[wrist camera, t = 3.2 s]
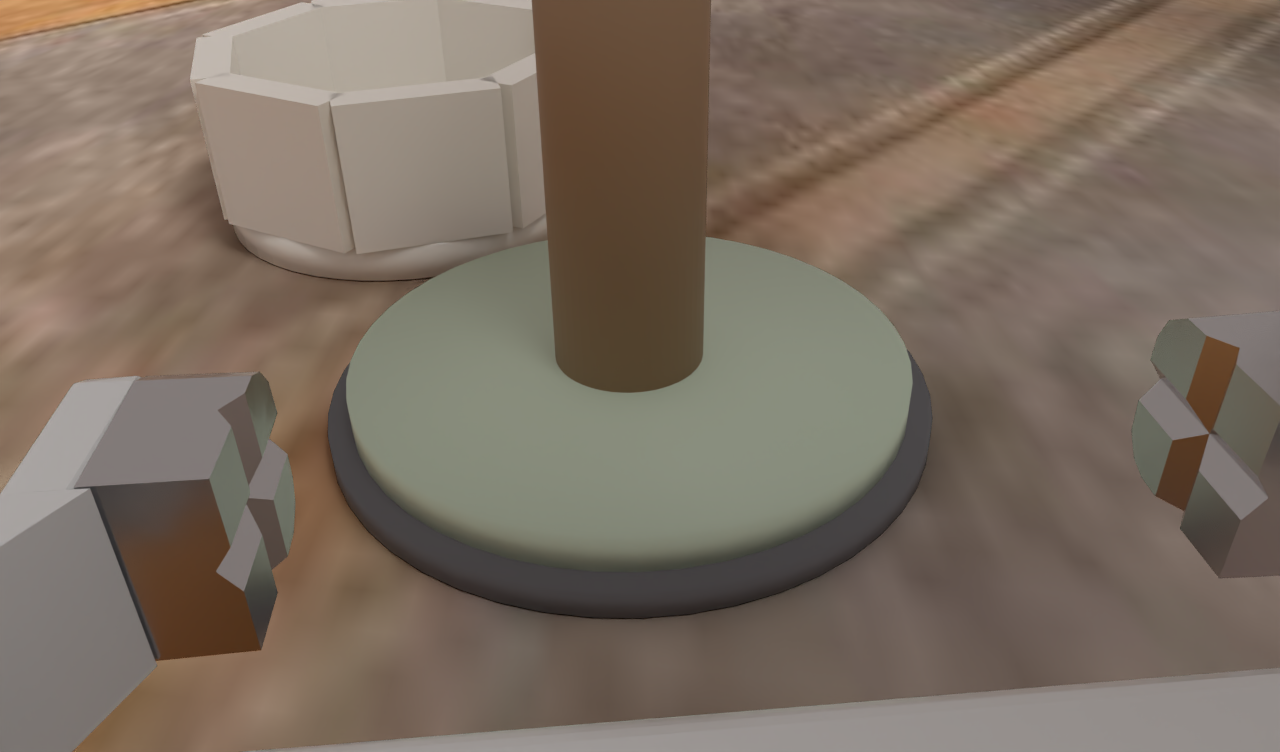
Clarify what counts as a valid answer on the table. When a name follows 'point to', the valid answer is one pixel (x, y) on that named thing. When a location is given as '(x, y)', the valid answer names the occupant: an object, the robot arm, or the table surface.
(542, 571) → the mat
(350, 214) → the bowl
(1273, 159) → the table surface
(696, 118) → the peg stand
